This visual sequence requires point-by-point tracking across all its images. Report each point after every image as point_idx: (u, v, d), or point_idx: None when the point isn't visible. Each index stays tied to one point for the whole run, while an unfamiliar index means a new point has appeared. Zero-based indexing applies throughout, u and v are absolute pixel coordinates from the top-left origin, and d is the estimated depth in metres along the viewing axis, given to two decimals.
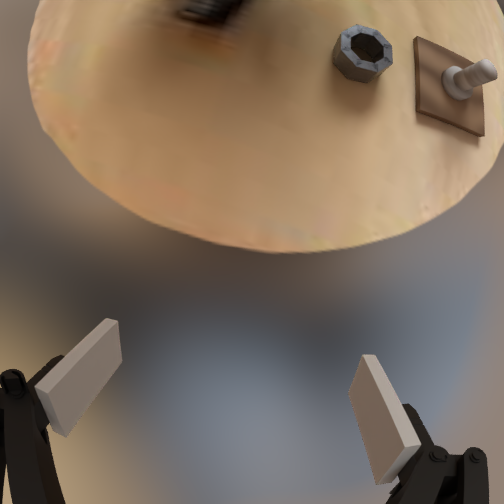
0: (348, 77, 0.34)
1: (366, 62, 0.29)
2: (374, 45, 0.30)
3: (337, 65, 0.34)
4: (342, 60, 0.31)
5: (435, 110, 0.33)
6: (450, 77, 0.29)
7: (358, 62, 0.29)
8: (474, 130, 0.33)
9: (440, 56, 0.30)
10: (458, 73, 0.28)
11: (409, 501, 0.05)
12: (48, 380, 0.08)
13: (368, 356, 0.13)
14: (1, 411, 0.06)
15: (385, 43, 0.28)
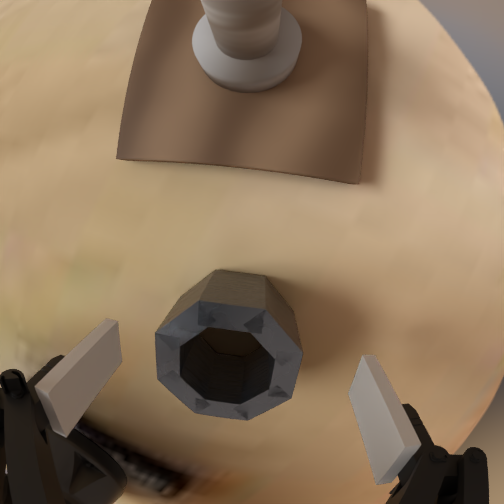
0: None
1: (276, 377, 0.14)
2: None
3: None
4: None
5: (351, 130, 0.14)
6: (243, 69, 0.12)
7: (279, 394, 0.14)
8: (364, 16, 0.12)
9: (163, 86, 0.14)
10: (230, 44, 0.10)
11: (409, 501, 0.05)
12: (48, 380, 0.08)
13: (368, 356, 0.13)
14: (1, 411, 0.06)
15: (195, 320, 0.13)
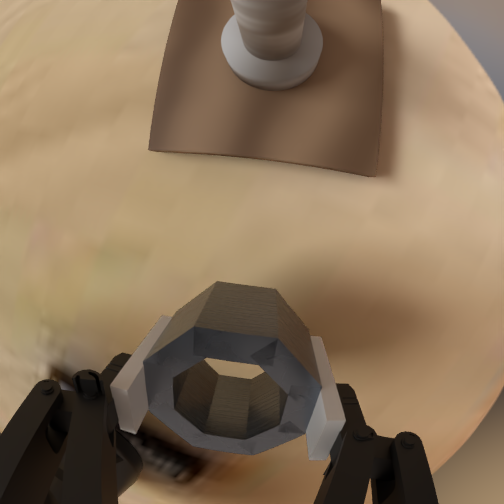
0: None
1: (288, 413, 0.11)
2: None
3: None
4: None
5: (368, 127, 0.15)
6: (269, 70, 0.13)
7: (291, 430, 0.11)
8: (379, 19, 0.13)
9: (193, 83, 0.15)
10: (258, 47, 0.11)
11: (340, 483, 0.06)
12: (123, 378, 0.10)
13: (313, 337, 0.15)
14: (70, 414, 0.08)
15: (190, 349, 0.10)
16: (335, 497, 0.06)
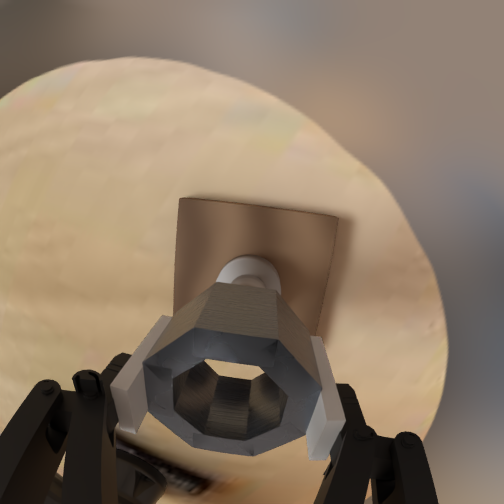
0: None
1: (288, 414, 0.11)
2: None
3: None
4: None
5: None
6: None
7: (291, 431, 0.11)
8: (331, 246, 0.25)
9: None
10: None
11: (340, 483, 0.06)
12: (123, 378, 0.10)
13: (313, 337, 0.15)
14: (70, 414, 0.08)
15: (190, 350, 0.10)
16: (335, 497, 0.06)
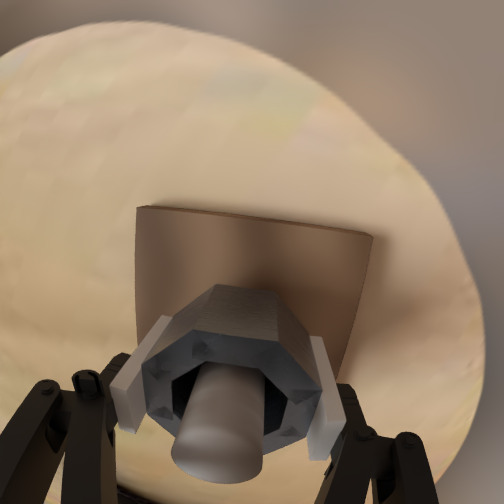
0: None
1: (288, 417, 0.11)
2: None
3: None
4: None
5: None
6: None
7: (291, 434, 0.11)
8: (361, 278, 0.16)
9: None
10: None
11: (341, 483, 0.06)
12: (122, 378, 0.10)
13: (314, 337, 0.15)
14: (70, 414, 0.08)
15: (189, 352, 0.10)
16: (335, 497, 0.06)
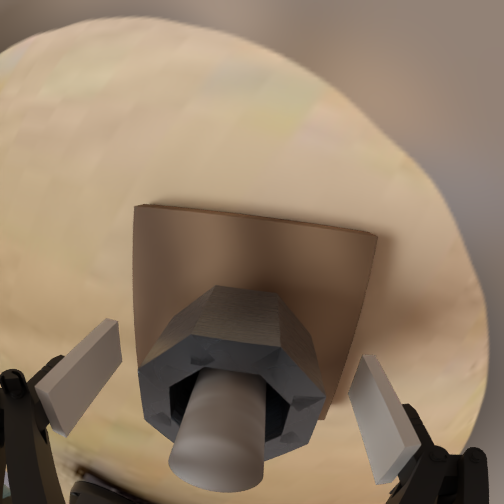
0: None
1: (290, 423, 0.10)
2: None
3: None
4: None
5: None
6: None
7: (293, 440, 0.11)
8: (366, 279, 0.16)
9: None
10: None
11: (409, 501, 0.05)
12: (48, 380, 0.08)
13: (368, 356, 0.13)
14: (1, 411, 0.06)
15: (187, 358, 0.10)
16: None
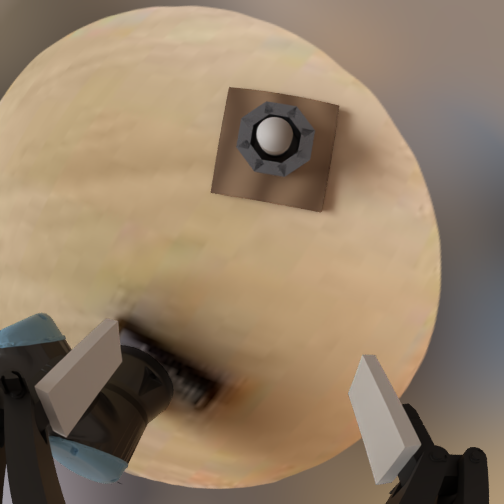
0: None
1: (301, 144, 0.27)
2: None
3: None
4: None
5: (319, 188, 0.34)
6: None
7: (303, 156, 0.27)
8: (335, 123, 0.32)
9: (235, 160, 0.35)
10: (268, 155, 0.31)
11: (409, 501, 0.05)
12: (48, 380, 0.08)
13: (368, 356, 0.13)
14: (1, 411, 0.06)
15: (263, 110, 0.26)
16: None
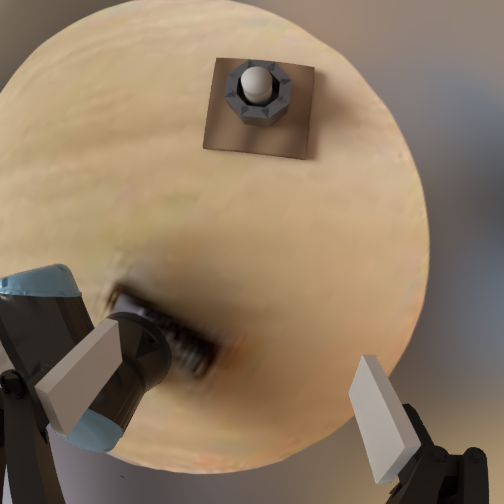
0: (286, 112, 0.34)
1: (281, 91, 0.29)
2: None
3: (272, 122, 0.34)
4: (274, 117, 0.32)
5: (301, 137, 0.37)
6: None
7: (283, 101, 0.29)
8: (311, 82, 0.35)
9: (223, 118, 0.36)
10: None
11: (409, 501, 0.05)
12: (48, 380, 0.08)
13: (368, 356, 0.13)
14: (1, 411, 0.06)
15: (246, 66, 0.28)
16: None
